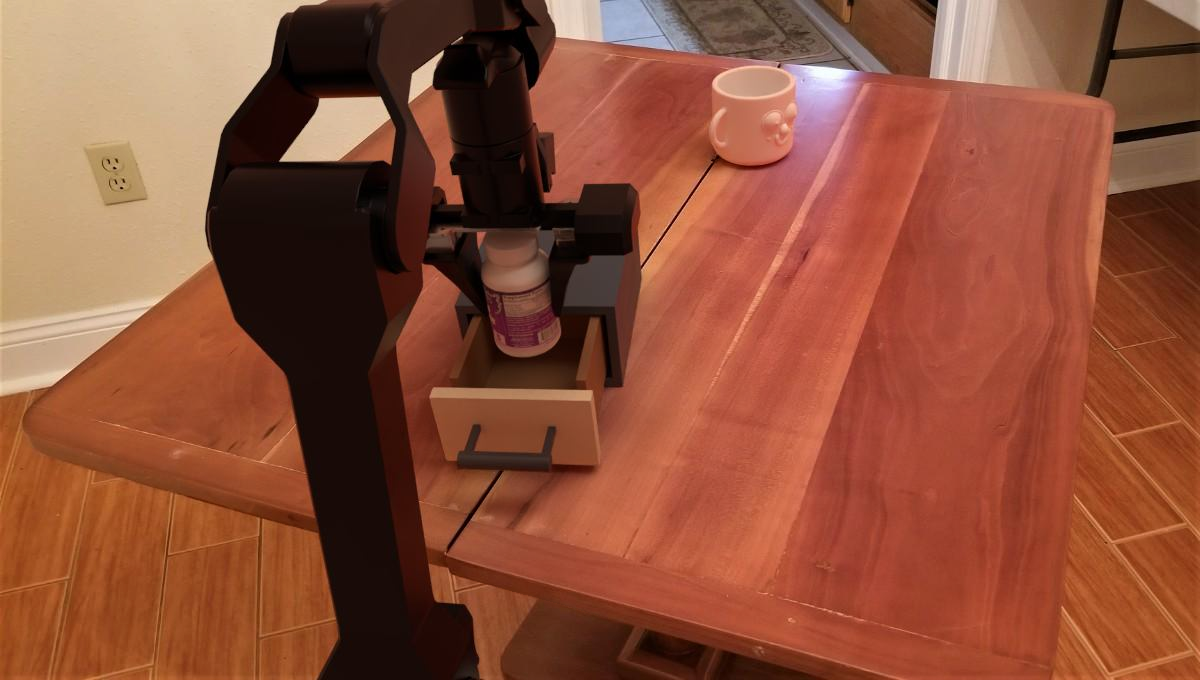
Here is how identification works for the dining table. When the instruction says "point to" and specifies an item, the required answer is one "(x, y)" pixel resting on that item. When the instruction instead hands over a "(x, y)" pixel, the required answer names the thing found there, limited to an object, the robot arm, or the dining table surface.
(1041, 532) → the dining table surface
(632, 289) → the cabinet
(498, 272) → the pill bottle
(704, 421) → the dining table surface
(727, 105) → the mug
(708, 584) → the dining table surface
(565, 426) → the drawer
